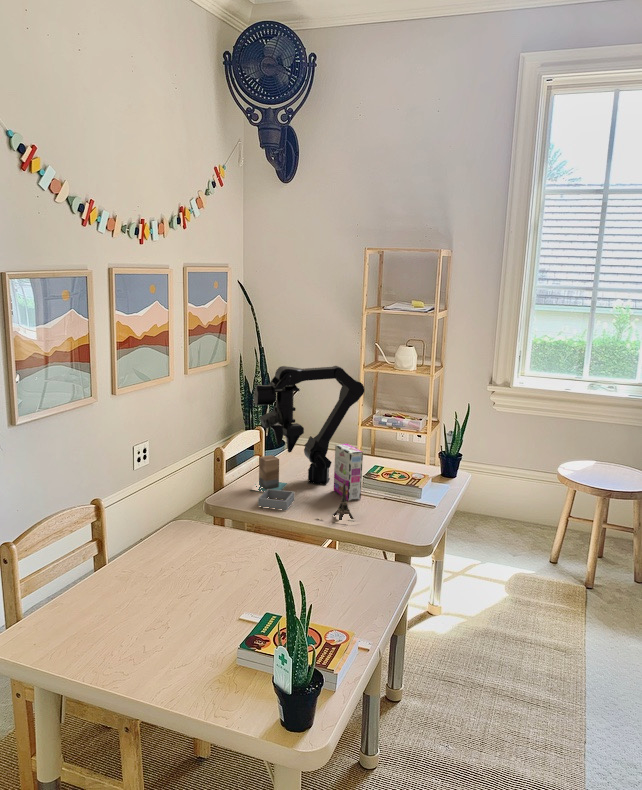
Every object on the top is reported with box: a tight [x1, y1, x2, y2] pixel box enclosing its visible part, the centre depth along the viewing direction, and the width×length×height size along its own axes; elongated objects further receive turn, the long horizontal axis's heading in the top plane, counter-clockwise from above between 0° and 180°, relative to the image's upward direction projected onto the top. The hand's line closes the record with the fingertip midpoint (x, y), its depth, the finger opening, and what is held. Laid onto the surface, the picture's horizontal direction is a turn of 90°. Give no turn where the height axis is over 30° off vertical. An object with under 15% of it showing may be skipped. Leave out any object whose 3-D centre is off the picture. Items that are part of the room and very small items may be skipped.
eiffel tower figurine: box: [332, 480, 355, 520], centre depth 199 cm, size 15×10×13 cm
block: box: [258, 454, 280, 489], centre depth 224 cm, size 5×5×10 cm
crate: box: [257, 489, 296, 511], centre depth 209 cm, size 9×9×3 cm
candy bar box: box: [333, 443, 364, 502], centre depth 218 cm, size 11×5×16 cm, turn 26°
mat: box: [254, 481, 288, 491], centre depth 225 cm, size 10×10×1 cm
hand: (284, 448), depth 225 cm, fingers open, 9 cm apart
